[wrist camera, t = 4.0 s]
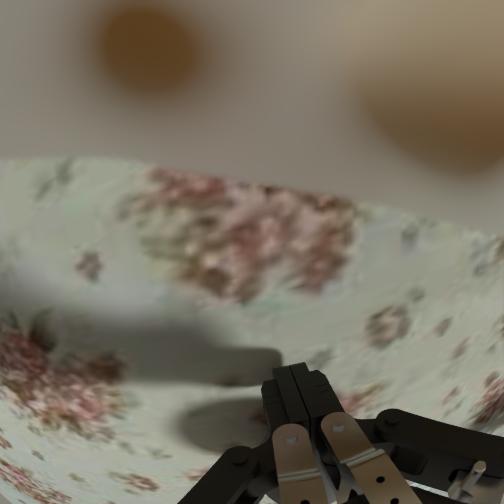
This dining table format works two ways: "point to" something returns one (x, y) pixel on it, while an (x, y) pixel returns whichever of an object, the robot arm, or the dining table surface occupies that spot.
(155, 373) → the dining table surface
